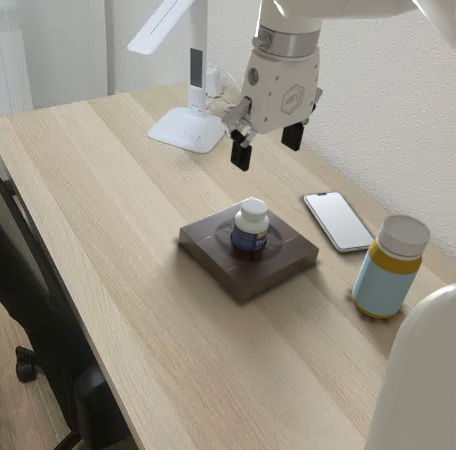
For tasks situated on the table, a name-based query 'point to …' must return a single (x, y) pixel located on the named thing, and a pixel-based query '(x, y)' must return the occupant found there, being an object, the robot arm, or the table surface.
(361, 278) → the bottle
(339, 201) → the smartphone
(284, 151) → the table surface
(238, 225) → the pill bottle
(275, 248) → the socket board
